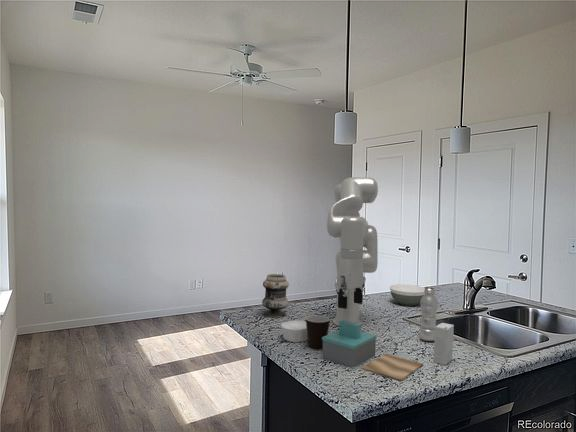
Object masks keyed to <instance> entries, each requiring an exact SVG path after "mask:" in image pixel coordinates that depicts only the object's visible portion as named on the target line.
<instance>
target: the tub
mask: <svg viewBox="0 0 576 432" xmlns="http://www.w3.org/2000/svg"><path fill="white" fill-rule="evenodd" d="M376 339H377V338H376ZM376 339H374V340H372V341H370V342H368V343H366V344H364V345H362V346H360V347H358V348H356V349H351V348H348V347H344V346H341V345H337V344H334V343H330V342H327V341H323V349H322V356H321V357H322V359H325V360H328V361H330V362H333V363H338V364H340V365H343V366H345V367H346V366H347V367H350V368H356V367H357V366H359V365H361V364H363V363H364V362H367V361H368V360H370V359H372V358H374V357H376V345H377V344H376V342H377V340H376Z"/></svg>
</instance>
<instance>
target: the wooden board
mask: <svg viewBox="0 0 576 432" xmlns="http://www.w3.org/2000/svg"><path fill="white" fill-rule="evenodd" d="M423 366H424V363H423V362H417V361H414V360H412V359H407V358H403V357H400V356H396V355H393V354H389V353H385V354H383V355H381V356H379V357H378V358H376V359H374V360H372V361H371V362H369V363H367V364H365V365H364V366H361V370H364V371H367V372H370V373H373V374H376V375H379V376H382V377H386V378H388V379H391V380H395V381H398V382H402V381H404V380H406V379H407V378H408V377H409V376H411V375H412V374H414V373H415V372H417V371H418V370H419V369H421V368H422V367H423Z"/></svg>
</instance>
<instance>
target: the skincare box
mask: <svg viewBox="0 0 576 432" xmlns="http://www.w3.org/2000/svg"><path fill="white" fill-rule="evenodd" d="M454 327H455V325H454V324H450V323H446V322H441V323H439V324H436V327H435V340H434V341H433V342H434V345H433V347H434V349H433V363H436V364H439V365H443V366H446V365H447V364H449V363H450V362H451V361H452V360H453V352H454V351H453V349H454Z"/></svg>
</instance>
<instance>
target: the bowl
mask: <svg viewBox="0 0 576 432" xmlns="http://www.w3.org/2000/svg"><path fill="white" fill-rule="evenodd" d="M389 290H390V295H391V297H392V298H393V300H394V301H396V302H397V303H398V304H399V303H400V305H401V304H402V305H401V306H406V305H407V306H408V307H414V305H415V306H417V305H418V304H421V303H420V301H421V298H422V297H423V296H424V295H425V293H424V291H425V286H421V285H420V286H419V285H415V284H405V283H402V284H391V285H390V286H389ZM407 306H406V307H407Z"/></svg>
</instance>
